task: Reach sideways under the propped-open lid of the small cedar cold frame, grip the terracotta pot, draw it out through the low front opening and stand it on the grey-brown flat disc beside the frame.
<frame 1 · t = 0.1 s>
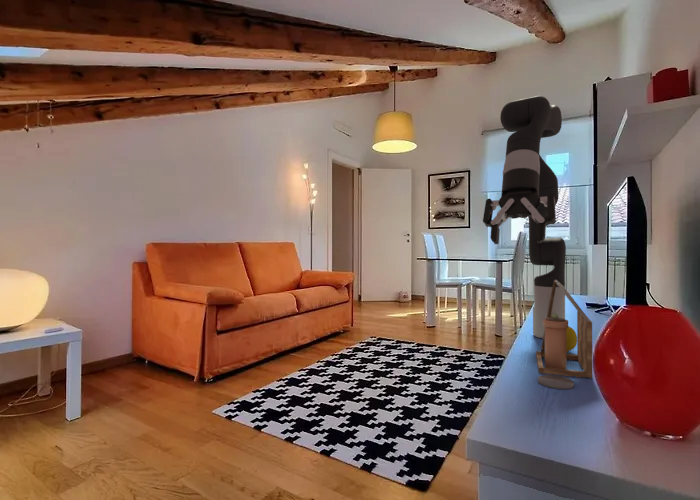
hand: (516, 242, 81), 31 cm above the tv stand, tool tilted 20°, fingers open, 8 cm apart
lemon: (566, 353, 110), on the tv stand
grey-brown flat disc: (555, 383, 85), on the tv stand
pot: (555, 367, 96), resting in cold frame
cold frame: (561, 365, 97), on the tv stand
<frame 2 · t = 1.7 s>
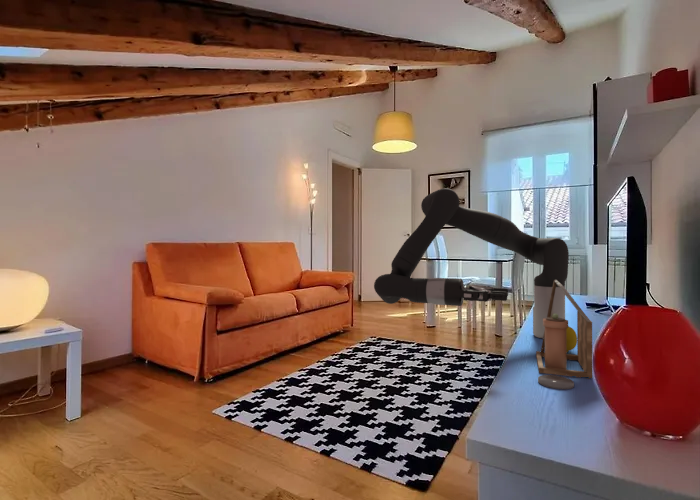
hand: (507, 294, 100), 18 cm above the tv stand, tool horizontal, fingers open, 8 cm apart
nothing on the tv stand moved.
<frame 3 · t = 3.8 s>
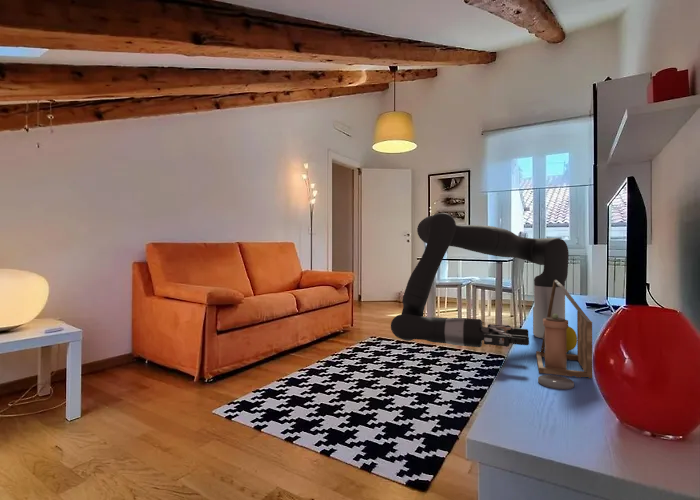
hand: (528, 336, 98), 7 cm above the tv stand, tool horizontal, fingers open, 8 cm apart
nothing on the tv stand moved.
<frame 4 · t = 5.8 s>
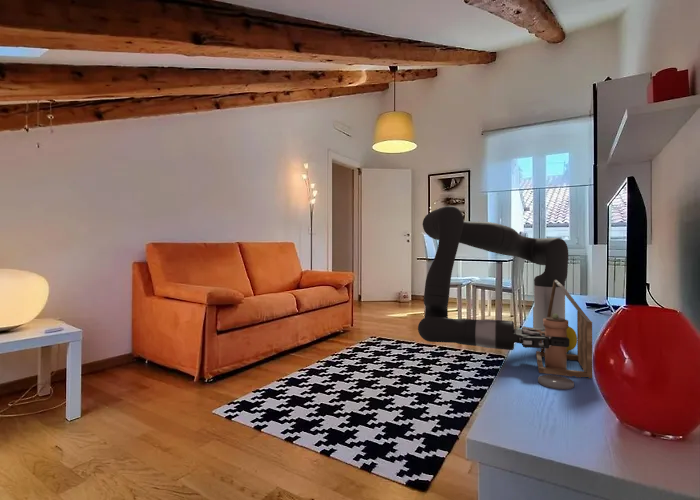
hand: (567, 339, 95), 7 cm above the tv stand, tool horizontal, fingers closed on pot, 4 cm apart
pot: (555, 367, 96), resting in cold frame, touching gripper
everything else where it was.
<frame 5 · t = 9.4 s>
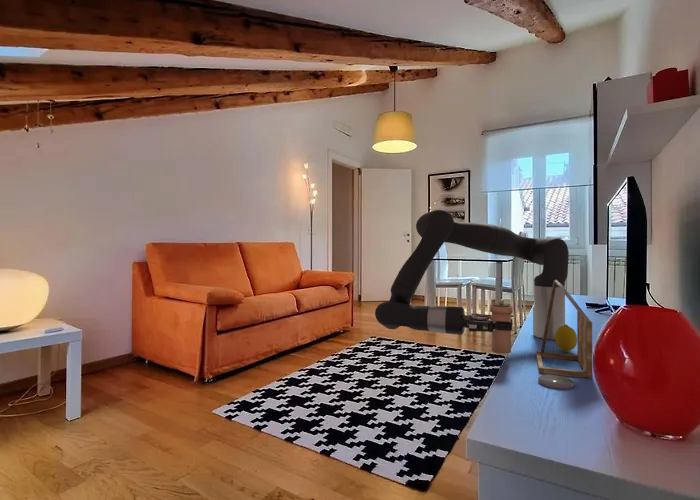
hand: (511, 324, 100), 10 cm above the tv stand, tool horizontal, fingers closed on pot, 4 cm apart
pot: (501, 351, 101), point 3 cm above the tv stand, touching gripper
everything else where it was.
when the fingers open (9 cm above the tv stand, at t = 13.0 s): pot drops 1 cm, resting on grey-brown flat disc.
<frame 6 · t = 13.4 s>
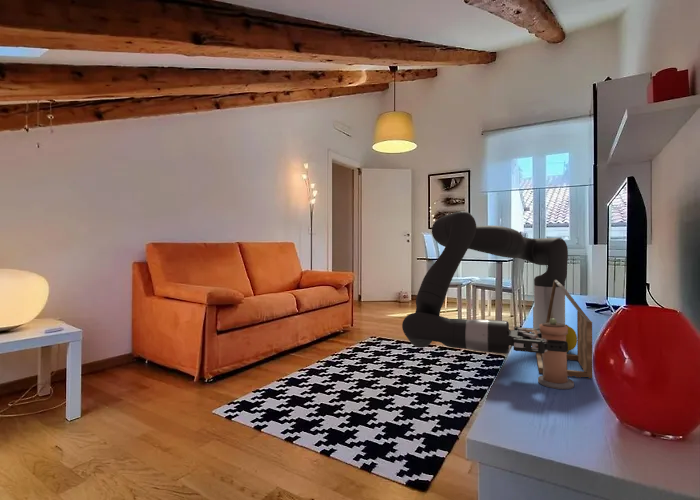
hand: (565, 342, 84), 9 cm above the tv stand, tool horizontal, fingers open, 8 cm apart
pot: (555, 379, 85), point 1 cm above the tv stand, touching grey-brown flat disc
everything else where it was.
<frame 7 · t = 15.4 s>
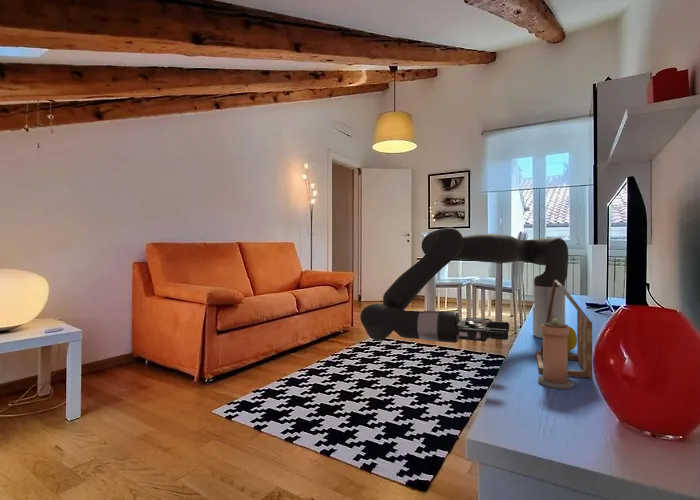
hand: (508, 330, 89), 11 cm above the tv stand, tool horizontal, fingers open, 8 cm apart
nothing on the tv stand moved.
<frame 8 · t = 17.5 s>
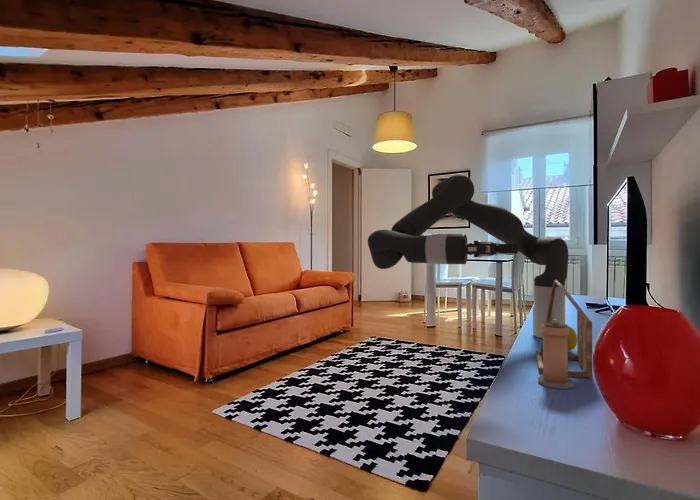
hand: (517, 248, 88), 30 cm above the tv stand, tool horizontal, fingers open, 8 cm apart
nothing on the tv stand moved.
at the end: pot 0.1 cm from the grey-brown flat disc (horizontally); pot tilted 0°; pot point 0.8 cm above the tv stand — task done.
